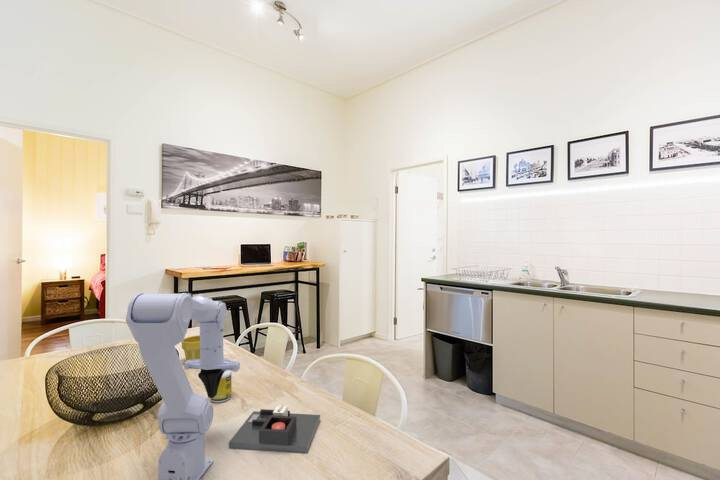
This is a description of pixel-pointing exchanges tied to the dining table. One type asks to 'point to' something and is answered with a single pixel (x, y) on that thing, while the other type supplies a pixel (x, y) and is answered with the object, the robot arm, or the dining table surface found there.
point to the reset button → (278, 426)
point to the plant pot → (191, 347)
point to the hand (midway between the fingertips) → (212, 396)
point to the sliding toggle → (281, 410)
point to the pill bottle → (224, 388)
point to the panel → (276, 432)
